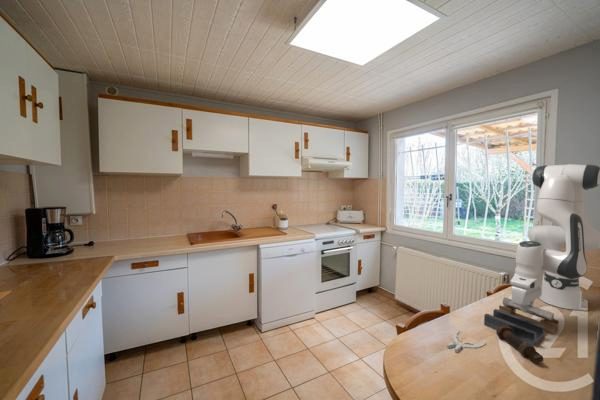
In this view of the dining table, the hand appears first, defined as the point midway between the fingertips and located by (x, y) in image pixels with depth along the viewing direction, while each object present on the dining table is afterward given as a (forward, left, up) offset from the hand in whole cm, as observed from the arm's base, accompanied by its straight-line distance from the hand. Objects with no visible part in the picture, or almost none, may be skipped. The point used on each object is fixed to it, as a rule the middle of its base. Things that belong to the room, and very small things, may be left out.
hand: (526, 310), depth 107 cm
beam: (0, 0, -5) cm, 5 cm away
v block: (+14, 0, -5) cm, 15 cm away
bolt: (+27, +7, -5) cm, 28 cm away
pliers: (+41, -6, -6) cm, 41 cm away
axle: (0, 0, +1) cm, 1 cm away
